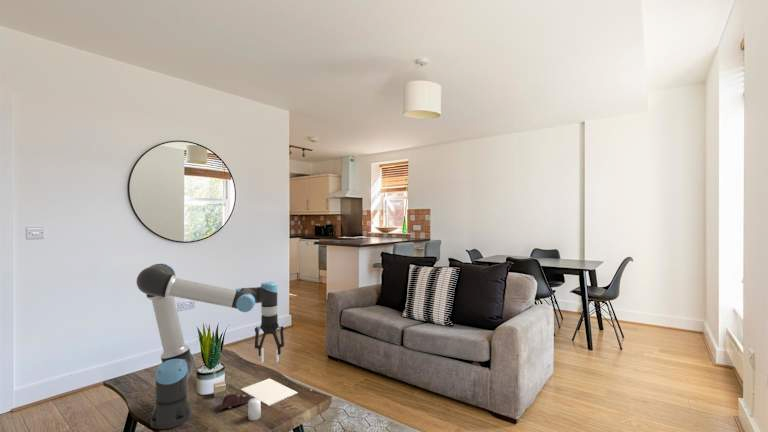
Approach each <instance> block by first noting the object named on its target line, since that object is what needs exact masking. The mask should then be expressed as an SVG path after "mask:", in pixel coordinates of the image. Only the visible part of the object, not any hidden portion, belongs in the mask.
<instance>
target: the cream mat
mask: <svg viewBox="0 0 768 432" xmlns="http://www.w3.org/2000/svg"><path fill="white" fill-rule="evenodd" d="M240 391H241V392H243V393H244V394H247V395H250V396H251V398H252V399H253V398H260V399H261V404H264V405H266V406H267V407H270V406H272V405H275V404H277V403H279V402H281V401H283V400H285V398H286V399H288V398H290V397H292V396H294V395H296V394H298V391H296V390H294V389H292V388H290V387H288V386H285V385H284V384H282V383H281V382H278V381H276V380H274V379H271V378H267V379H265V380H262V381H259V382H256V383H253V384H251V385H248V386H245V387H243V388H240ZM287 397H288V398H287Z"/></svg>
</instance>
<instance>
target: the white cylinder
mask: <svg viewBox="0 0 768 432" xmlns="http://www.w3.org/2000/svg"><path fill="white" fill-rule="evenodd" d="M261 405H262V402H261V399H260V398H253V397H252V398H251V399H250V400H249V401H248V402H247V406H248V407H247V408H248V409H247V411H248V414H247V415H248V418H247V419H248V420H249V421H257V420H259V419H261V417H262V409H261V407H262V406H261Z"/></svg>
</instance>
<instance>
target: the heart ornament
mask: <svg viewBox="0 0 768 432" xmlns="http://www.w3.org/2000/svg"><path fill="white" fill-rule="evenodd" d="M250 399H252V396H250V395H248V394H246V393H242V394H238V392H235V393H226V395H225V396H223V398H222V401H221V403H220V404H221V405H220V410H223V409H227V408H228V409H231V408H233V407H236V406H239V405H244V404H246V403H248V401H249V400H250Z"/></svg>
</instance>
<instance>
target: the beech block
mask: <svg viewBox="0 0 768 432" xmlns="http://www.w3.org/2000/svg"><path fill="white" fill-rule="evenodd" d="M225 395H227V385H226V381H225V380H223V381H218V382H213V398H214V399H215V398H220V397H224V396H225Z"/></svg>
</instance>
